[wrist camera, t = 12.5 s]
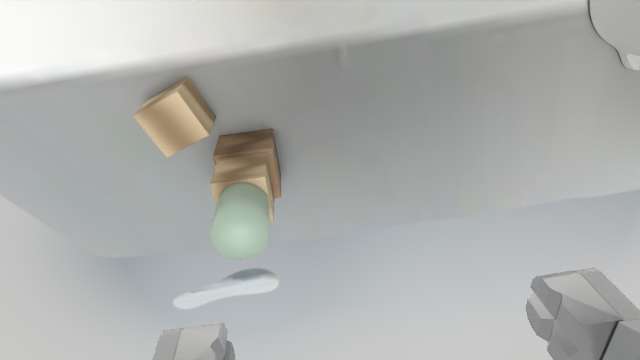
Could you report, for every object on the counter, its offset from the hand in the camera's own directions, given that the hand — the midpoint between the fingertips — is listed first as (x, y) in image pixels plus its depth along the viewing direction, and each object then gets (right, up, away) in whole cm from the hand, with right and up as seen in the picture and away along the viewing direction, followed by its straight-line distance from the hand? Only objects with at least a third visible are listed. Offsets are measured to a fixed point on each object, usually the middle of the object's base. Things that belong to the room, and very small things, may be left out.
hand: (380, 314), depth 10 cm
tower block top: (-9, +4, +31) cm, 32 cm away
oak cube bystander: (-16, +11, +32) cm, 37 cm away
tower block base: (-10, +6, +35) cm, 37 cm away
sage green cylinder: (-9, +1, +27) cm, 28 cm away
